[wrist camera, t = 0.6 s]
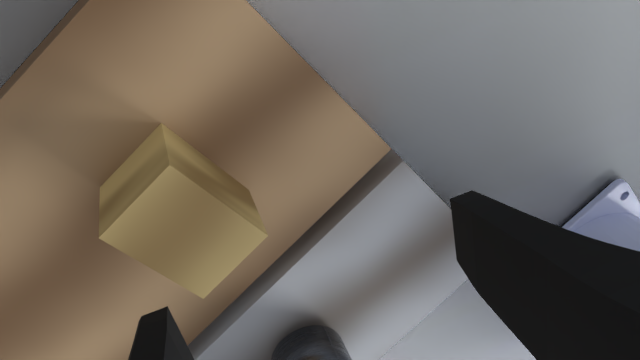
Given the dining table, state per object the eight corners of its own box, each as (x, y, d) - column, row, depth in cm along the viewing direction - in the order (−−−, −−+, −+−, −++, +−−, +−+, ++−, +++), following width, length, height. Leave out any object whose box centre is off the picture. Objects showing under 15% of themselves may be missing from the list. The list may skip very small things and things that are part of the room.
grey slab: (472, 230, 28) (535, 296, 24) (174, 504, 31) (184, 604, 27) (158, -89, 17) (174, -72, 13) (-253, 372, 20) (-347, 506, 16)
